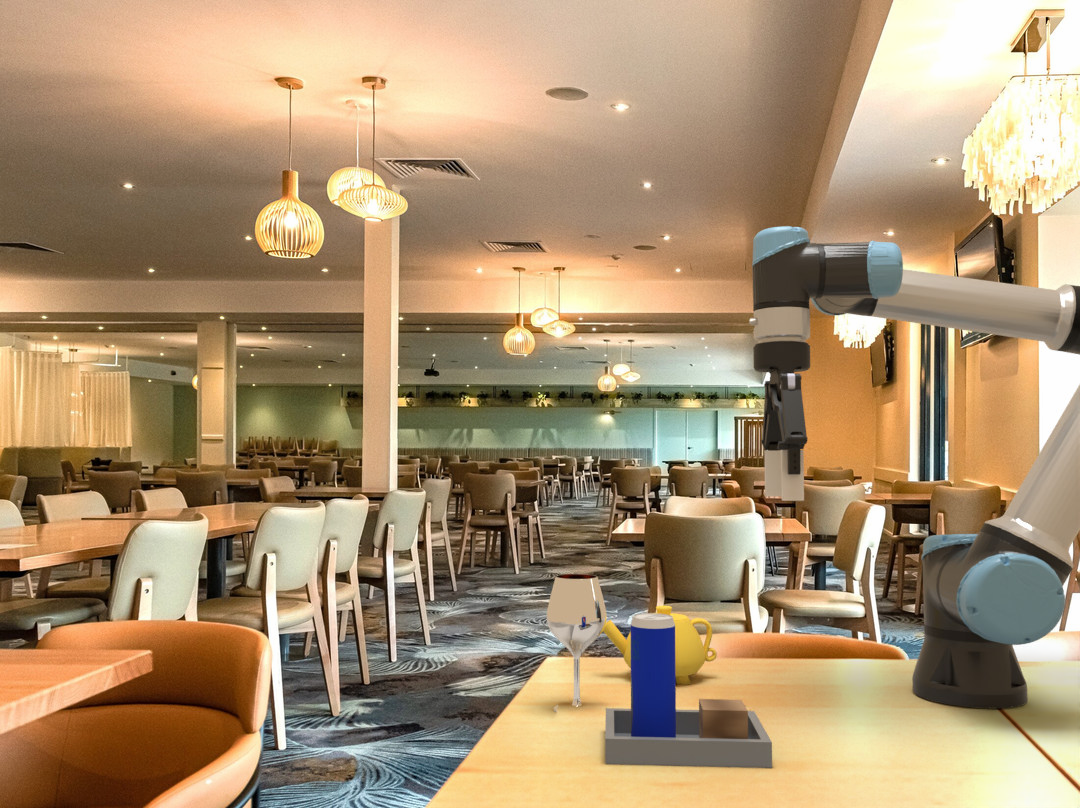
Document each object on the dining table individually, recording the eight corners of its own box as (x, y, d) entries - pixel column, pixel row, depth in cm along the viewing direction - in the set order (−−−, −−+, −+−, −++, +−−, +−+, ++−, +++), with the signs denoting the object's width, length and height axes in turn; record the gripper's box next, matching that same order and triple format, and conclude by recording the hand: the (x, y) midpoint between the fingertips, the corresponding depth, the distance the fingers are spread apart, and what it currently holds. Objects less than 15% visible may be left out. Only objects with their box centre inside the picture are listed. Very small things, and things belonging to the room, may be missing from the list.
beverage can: (646, 738, 116) (646, 611, 117) (684, 746, 113) (683, 615, 114) (622, 748, 112) (621, 616, 113) (660, 757, 109) (659, 621, 110)
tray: (754, 740, 118) (754, 711, 118) (772, 775, 105) (771, 742, 105) (605, 737, 119) (605, 708, 120) (605, 771, 107) (605, 738, 107)
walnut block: (742, 742, 114) (741, 699, 115) (748, 756, 109) (747, 710, 110) (699, 742, 115) (698, 698, 115) (703, 754, 110) (702, 709, 110)
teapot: (658, 664, 162) (657, 596, 162) (725, 677, 152) (724, 605, 152) (597, 678, 152) (597, 605, 152) (665, 693, 142) (664, 616, 142)
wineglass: (556, 720, 127) (556, 581, 128) (539, 704, 135) (539, 574, 136) (615, 715, 129) (614, 579, 130) (595, 700, 137) (595, 572, 138)
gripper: (741, 352, 146) (742, 494, 144) (768, 330, 121) (770, 502, 120) (792, 351, 145) (794, 494, 144) (830, 330, 120) (832, 502, 119)
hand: (783, 498), depth 132 cm, fingers open, 13 cm apart
